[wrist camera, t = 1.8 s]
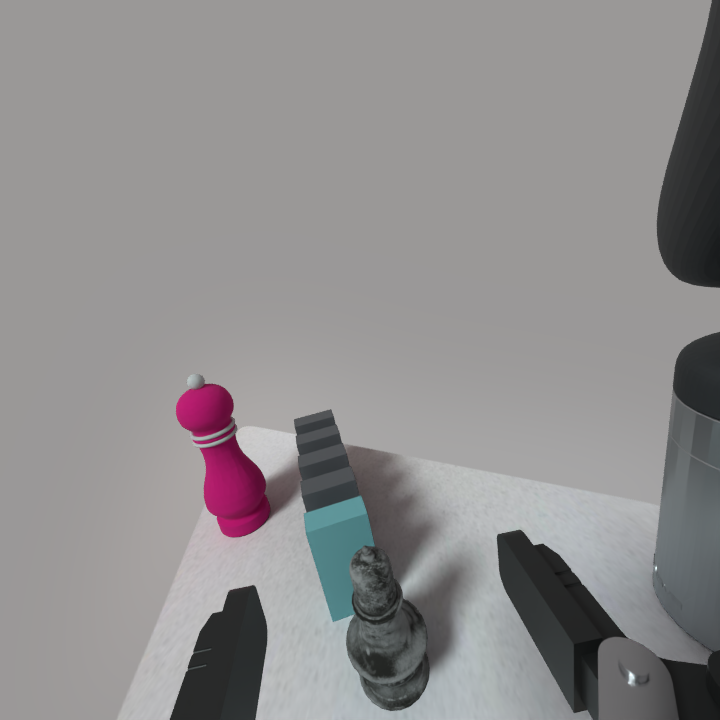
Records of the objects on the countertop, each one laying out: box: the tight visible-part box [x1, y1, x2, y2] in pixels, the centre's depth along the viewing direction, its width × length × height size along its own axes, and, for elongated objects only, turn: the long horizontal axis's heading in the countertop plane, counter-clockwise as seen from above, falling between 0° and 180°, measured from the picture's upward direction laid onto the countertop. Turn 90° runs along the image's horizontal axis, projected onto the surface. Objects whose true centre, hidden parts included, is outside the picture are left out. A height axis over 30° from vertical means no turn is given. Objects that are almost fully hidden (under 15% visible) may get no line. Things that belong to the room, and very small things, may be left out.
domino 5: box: [304, 496, 375, 622], centre depth 31 cm, size 2×5×10 cm, turn 103°
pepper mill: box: [176, 374, 270, 537], centre depth 42 cm, size 7×7×20 cm
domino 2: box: [296, 425, 342, 455], centre depth 43 cm, size 2×5×10 cm, turn 103°
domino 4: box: [300, 466, 359, 512], centre depth 35 cm, size 2×5×10 cm, turn 103°
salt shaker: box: [346, 545, 429, 711], centre depth 25 cm, size 6×6×12 cm
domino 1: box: [294, 410, 336, 436], centre depth 48 cm, size 2×5×10 cm, turn 103°
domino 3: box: [298, 443, 350, 480], centre depth 39 cm, size 2×5×10 cm, turn 103°
